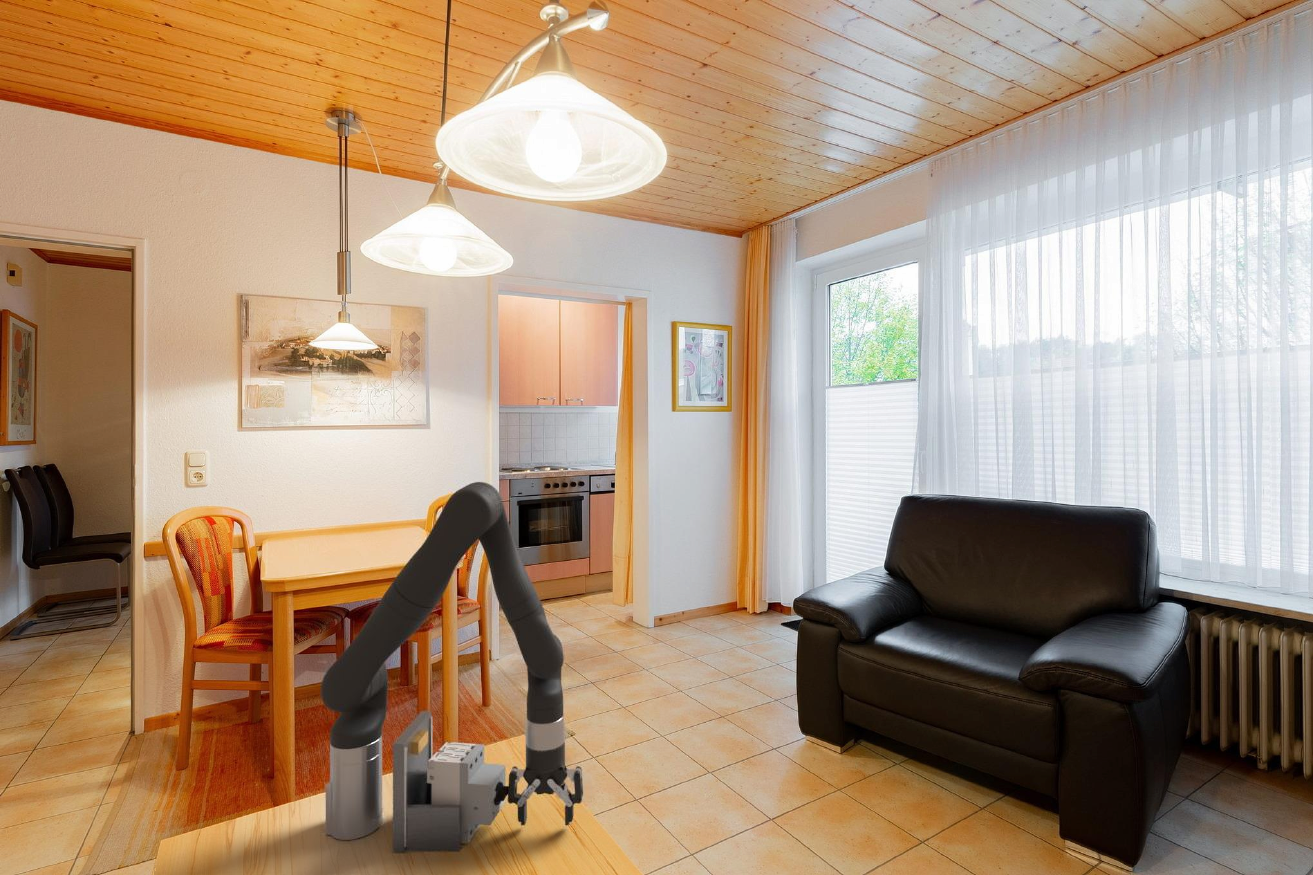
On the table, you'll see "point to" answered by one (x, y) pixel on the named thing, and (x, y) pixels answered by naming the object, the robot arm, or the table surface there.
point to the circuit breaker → (467, 784)
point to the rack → (420, 795)
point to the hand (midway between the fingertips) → (545, 822)
